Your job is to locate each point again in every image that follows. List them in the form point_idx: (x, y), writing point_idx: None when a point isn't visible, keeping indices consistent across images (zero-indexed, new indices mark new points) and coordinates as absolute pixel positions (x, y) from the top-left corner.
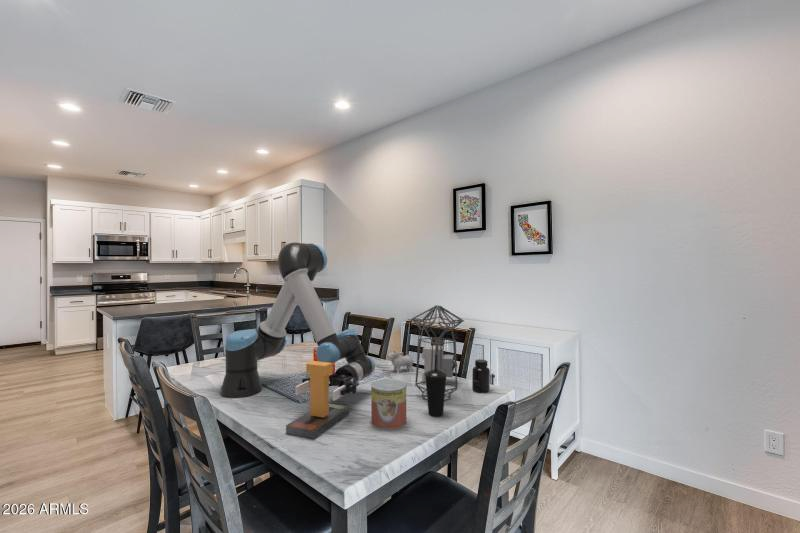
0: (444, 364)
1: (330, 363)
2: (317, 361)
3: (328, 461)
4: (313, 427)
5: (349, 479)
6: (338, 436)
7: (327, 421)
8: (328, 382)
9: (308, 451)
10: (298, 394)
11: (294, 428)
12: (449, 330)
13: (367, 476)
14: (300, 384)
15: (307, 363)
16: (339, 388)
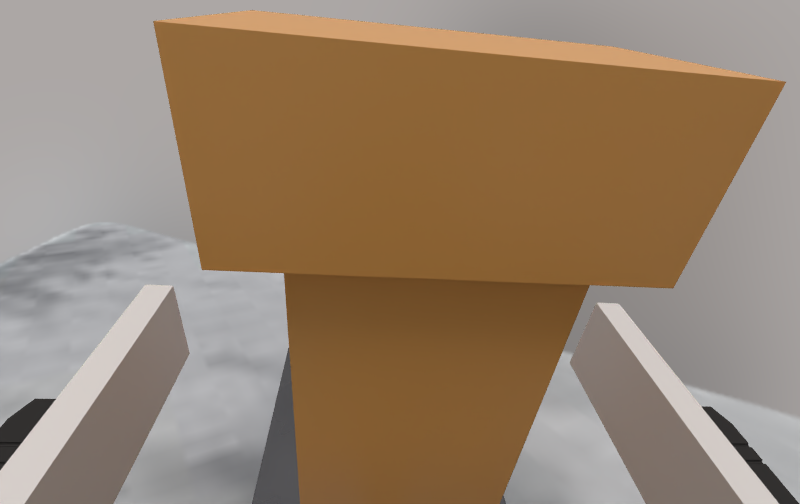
0: None
1: (202, 19)
2: (651, 66)
3: (170, 281)
4: None
5: (84, 240)
6: (165, 448)
7: (263, 472)
8: (294, 383)
9: (271, 306)
10: (577, 375)
11: None
12: None
13: (17, 255)
14: (646, 353)
15: (625, 49)
16: (87, 369)
